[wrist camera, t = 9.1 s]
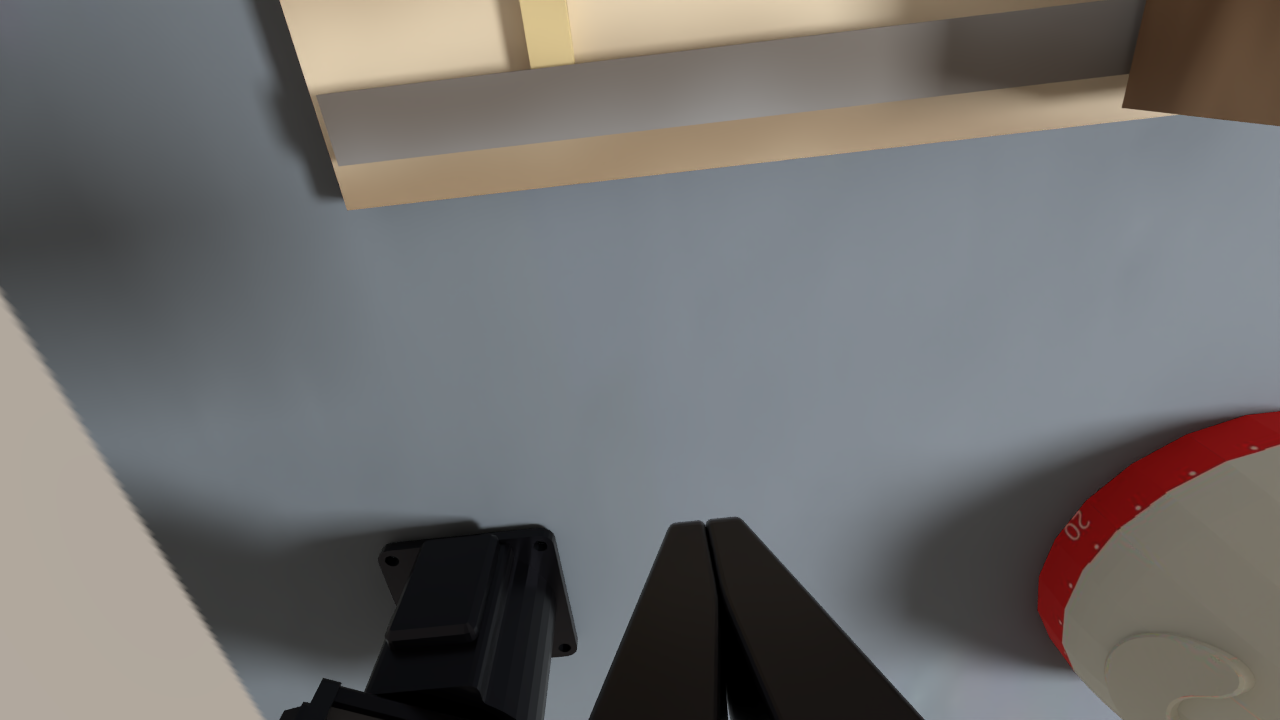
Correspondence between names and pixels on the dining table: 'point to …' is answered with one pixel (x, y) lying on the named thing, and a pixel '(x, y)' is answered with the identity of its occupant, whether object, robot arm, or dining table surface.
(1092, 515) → the white dome
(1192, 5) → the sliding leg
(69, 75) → the dining table surface
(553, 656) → the robot arm
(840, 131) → the gauge board
